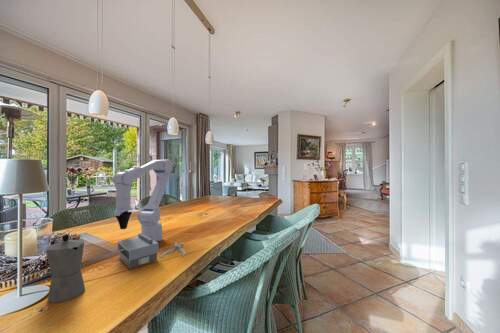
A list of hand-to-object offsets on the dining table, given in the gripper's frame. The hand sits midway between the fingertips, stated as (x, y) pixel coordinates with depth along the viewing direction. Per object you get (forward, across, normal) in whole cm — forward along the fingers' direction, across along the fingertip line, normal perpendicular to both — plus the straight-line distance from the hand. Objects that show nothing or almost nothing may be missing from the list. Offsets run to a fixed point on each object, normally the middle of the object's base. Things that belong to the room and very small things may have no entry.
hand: (123, 228), depth 101 cm
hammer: (+11, -3, -23) cm, 26 cm away
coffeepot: (+11, -32, +5) cm, 35 cm away
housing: (+10, -10, -9) cm, 17 cm away
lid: (+7, -10, -9) cm, 16 cm away
